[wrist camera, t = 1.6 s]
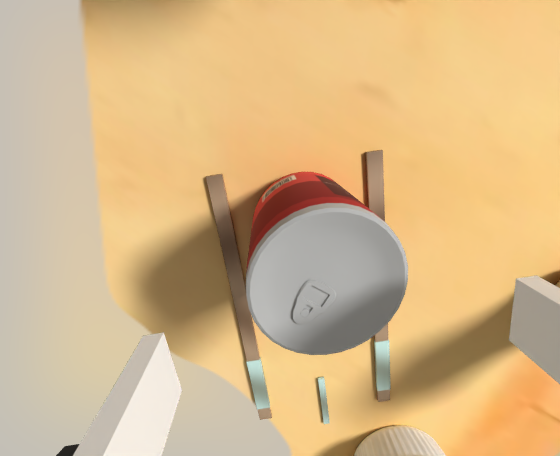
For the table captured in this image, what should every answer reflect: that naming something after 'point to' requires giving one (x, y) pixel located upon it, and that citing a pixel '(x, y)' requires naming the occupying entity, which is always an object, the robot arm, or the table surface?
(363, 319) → the canned food
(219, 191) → the guide strips
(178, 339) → the table surface
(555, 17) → the table surface
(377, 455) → the ramekin
